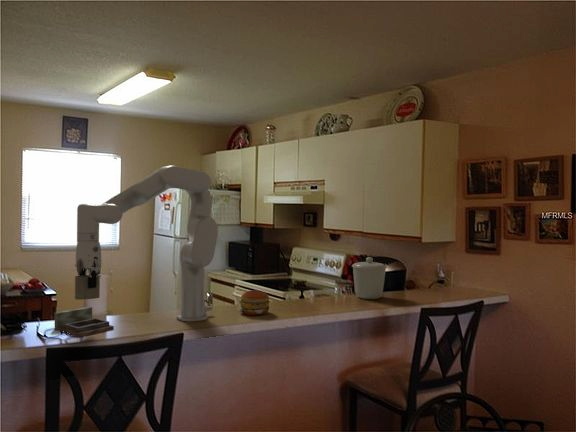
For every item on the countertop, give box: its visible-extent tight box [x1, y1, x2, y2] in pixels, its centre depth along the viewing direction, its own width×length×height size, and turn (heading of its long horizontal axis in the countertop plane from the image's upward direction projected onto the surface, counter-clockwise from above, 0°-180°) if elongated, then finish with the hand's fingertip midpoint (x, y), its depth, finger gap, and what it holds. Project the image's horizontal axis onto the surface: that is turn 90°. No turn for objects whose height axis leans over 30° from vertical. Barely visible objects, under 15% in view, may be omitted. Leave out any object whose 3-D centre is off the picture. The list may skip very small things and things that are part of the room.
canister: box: [351, 256, 388, 300], centre depth 257 cm, size 18×18×21 cm
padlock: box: [74, 259, 101, 301], centre depth 182 cm, size 4×8×15 cm, turn 119°
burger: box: [238, 289, 271, 316], centre depth 216 cm, size 14×14×10 cm
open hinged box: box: [54, 306, 115, 338], centre depth 184 cm, size 14×16×6 cm
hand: (87, 286), depth 182 cm, fingers closed on padlock, 5 cm apart
